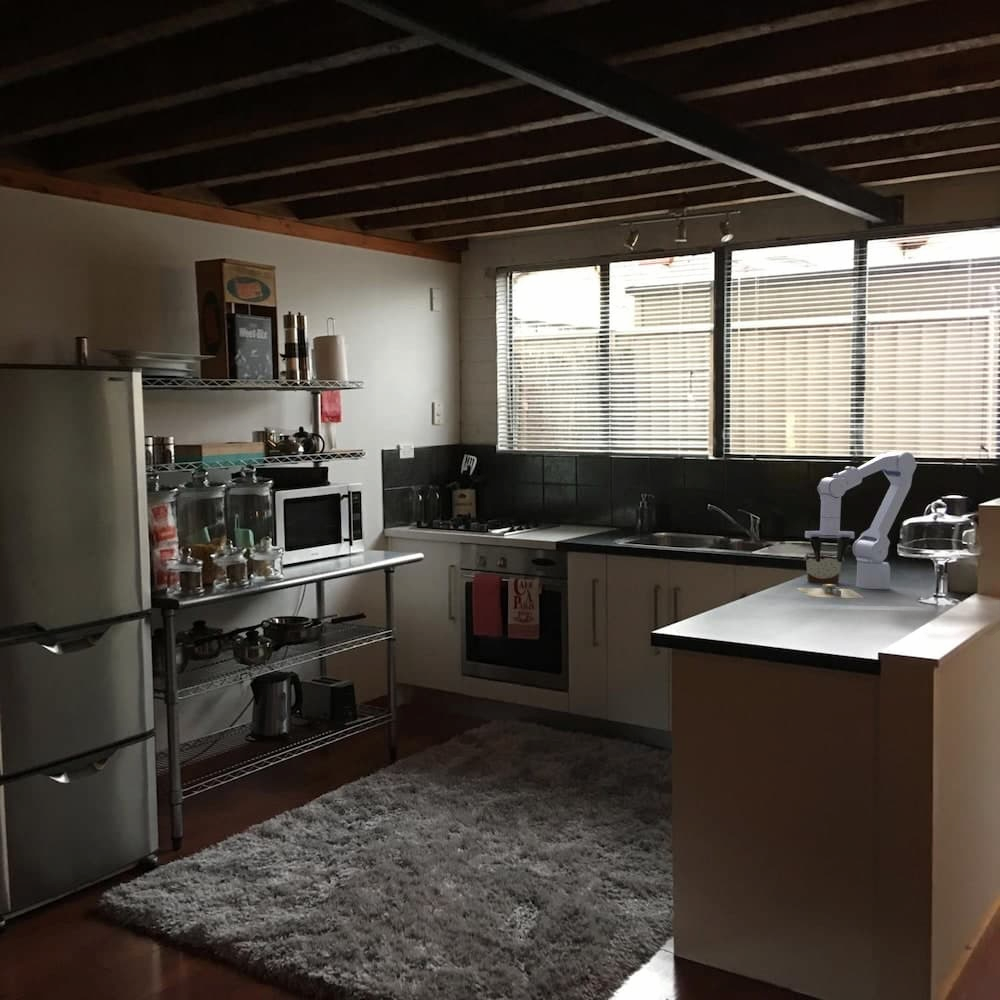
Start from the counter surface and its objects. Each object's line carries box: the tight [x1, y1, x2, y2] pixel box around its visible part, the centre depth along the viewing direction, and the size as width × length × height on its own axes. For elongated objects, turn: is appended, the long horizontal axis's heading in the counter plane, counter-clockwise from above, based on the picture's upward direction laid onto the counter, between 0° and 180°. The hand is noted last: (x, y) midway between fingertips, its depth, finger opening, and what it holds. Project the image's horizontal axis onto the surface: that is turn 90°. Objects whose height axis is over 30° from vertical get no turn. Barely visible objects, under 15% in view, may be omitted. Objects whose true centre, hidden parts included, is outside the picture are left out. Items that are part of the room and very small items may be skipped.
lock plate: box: [796, 583, 865, 599], centre depth 322 cm, size 16×16×3 cm
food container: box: [803, 551, 845, 584], centre depth 345 cm, size 12×6×10 cm, turn 84°
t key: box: [821, 583, 841, 596], centre depth 322 cm, size 12×4×2 cm, turn 2°
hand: (828, 561), depth 328 cm, fingers open, 6 cm apart
